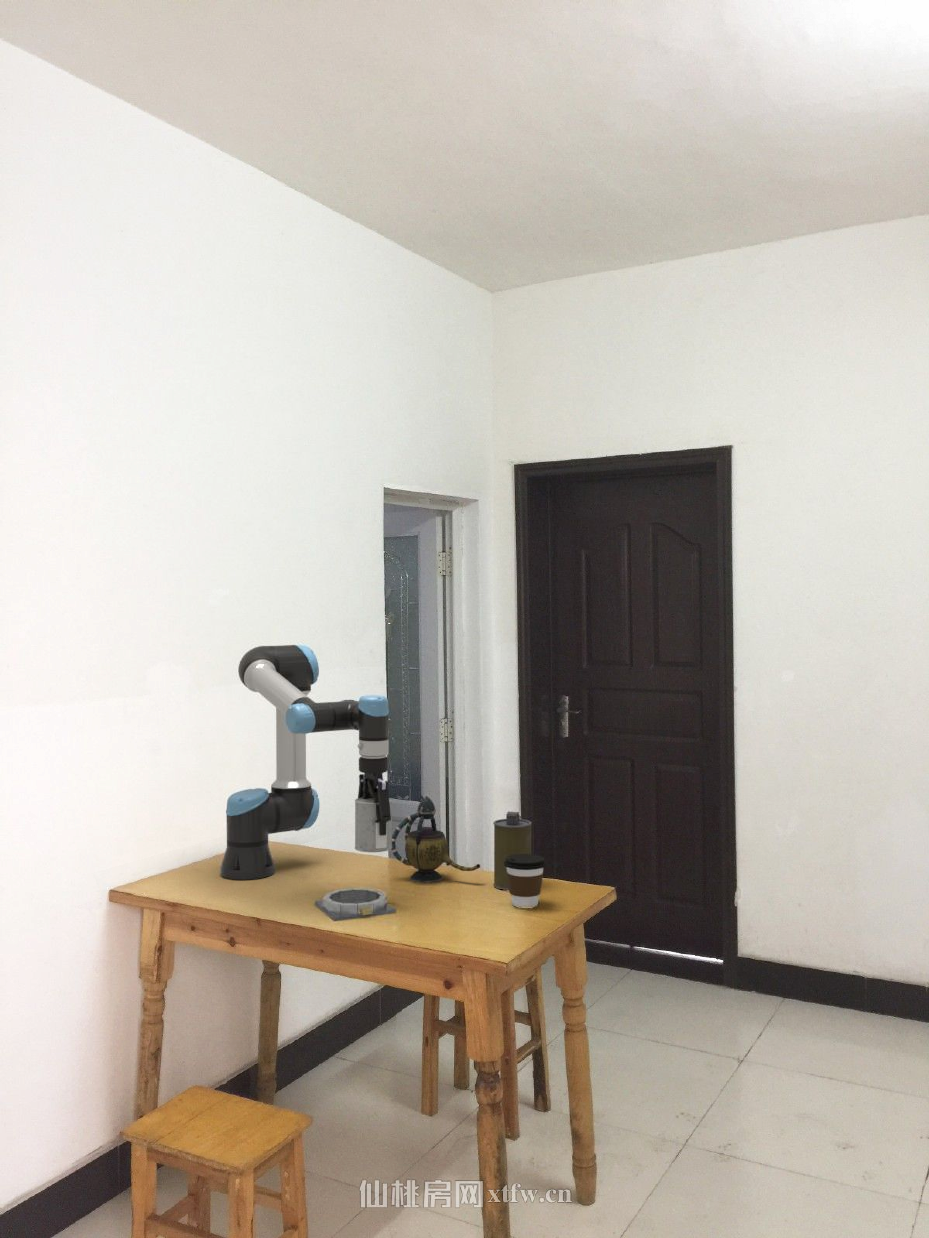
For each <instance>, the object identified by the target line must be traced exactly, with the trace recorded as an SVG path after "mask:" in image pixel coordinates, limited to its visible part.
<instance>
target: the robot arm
mask: <svg viewBox="0 0 929 1238" xmlns="http://www.w3.org/2000/svg"><path fill="white" fill-rule="evenodd" d="M317 658H318V657H317V656H316V654H315V653H314V651H313V650H312V648H310V647H309V646H307V645H300V644H298V645H297V644H288V645H287V644H285V645H260V646H257V647H254V648H250V649H249V650H248V651H247V652H246V653H244V654H243V656H242V657H241V659H240V661H239V664H238V677H239V679H240V682H241V683H242V685H244V687H246V688H247V689H248V690H249V691H251V692H254V693H259V694H260V695H261V696H262V697H263V698H265V700H267V701H268V702H269V703H270V704H271V705H273V706H274V707H275V721H276V722H275V726H276V727H275V728H276V729H275V733H276V735H275V736H276V737H275V738H276V740H275V741H276V742H275V743H276V745H275V748H276V750H275V752H276V755H275V757H276V758H275V761H276V763H275V764H276V766H275V767H276V768H275V771H276V772H275V773H276V774H275V775H276V776H275V777H276V779H275V780H274V782H272V783H271V786H270V789H271V790H270V792H269V790H268V789H266V788H260V787H259V788H258V787H257V788H248V789H243V790H240V791H236V792H235V793H231V795H229V797H228V798H227V802H226V810H225V814H226V849H225V851H224V855H223V858H222V861H221V864H220V876H221V877H222V878H225V879H228V880H242V881H243V880H244V881H245V880H257V879H262V878H268V877H271V876H273V875H274V874H275V870H276V869H275V868H276V867H275V861H274V859H273V855H272V852H271V850H270V846H269V835H271V834H277V833H287V832H292V831H293V832H299V831H301V830H305V829H309V828H312V826H313V825H314V823H316V821H317V820H318V816H319V813H320V798H319V794H318V793H317V790H315V789H314V788H312V783H311V781H310V780H308V779H307V734H312V733H313V734H314V733H324V732H334V731H335V732H338V731H349V730H350V731H353V730H354V731H358V744H357V748H358V755H359V756H360V757H359V758H358V771H359V772H360V774H359V775H358V779H359V780H358V791H357V792H358V794H357V799H358V798H363V799H369V798H373V800H374V803H376V816H377V820H376V821H375V823H376V848H377V849H378V848H386V847H387V822H388V821H390V820H391V814H390V803H389V798H390V796H389V793H390V792H389V783H390V782H389V781H388V780H384V778H383V777H384V776H383V774H384V773H387V772H388V771H389V757H388V755H389V752H390V751H389V746H390V744H389V722H390V721H389V717H390V715H389V713H390V710H389V700H388V698H387V696H385V695H375V694H371V695H367V694H366V695H362V696H360V697H359V700H355V699H342V700H339V701H325V702H315V701H314V699H313V700H312V699H311V698H310V697H309V696H308V695H309V694H310V693H311V692H312V685H314V684H316V682H317V681H318V678H319V674H320V668H319V662H318V659H317ZM377 803H379V804H377Z"/></svg>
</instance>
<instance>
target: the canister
mask: <svg viewBox="0 0 929 1238" xmlns="http://www.w3.org/2000/svg"><path fill="white" fill-rule="evenodd" d="M505 816H506V818H502V819H497V820H494V821H493V825H494V827H493V828H494V829H493V830H494V833H493V837H494V839H493V840H494V841H493V845H494V846H493V847H494V848H493V849H494V851H493V855H494V856H493V862H494V863H493V866H494V867H493V869H494V871H493V877H494V878H493V887H494V888H495V887H496V888H495V889H497V888H498V889H497V890H500V889H503V890H502V891H506V890H509V885H508V879H507V868H506V866H504V861H505V859H506V857H508V856H510V855H515V854H532V825H533V824H532V821H530V820H528V819H523V818H522V817H521V815H520V811H507V813H506V815H505Z"/></svg>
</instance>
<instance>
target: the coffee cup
mask: <svg viewBox="0 0 929 1238" xmlns="http://www.w3.org/2000/svg"><path fill="white" fill-rule="evenodd" d="M504 866H506V868H507V879H508V885H509V891H508V892H509V894H510V899H511V904H512V906H513V905H514V906H516V907H535V906H536V907H537V906H538V904H539V901H540V900H539V899H540V895H541V892H542V891H541V889H542V884H543V877H544V868H546V867H547V861H545V857H543V856H542V855H539V854H532V853H531V854H515V855H510V856H508V857H506V859H505V861H504ZM514 906H513V907H514ZM516 907H515V908H516ZM536 907H535V908H536Z"/></svg>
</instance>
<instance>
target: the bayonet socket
mask: <svg viewBox="0 0 929 1238" xmlns="http://www.w3.org/2000/svg"><path fill="white" fill-rule="evenodd" d="M387 898H388V897H387V894H386V893H385V892H383V891H382V890H379V889H373V888H366V887H365V888H362V887H361V888H360V887H357V888H356V887H352V888H343V889H336V890H334V891H330V892H326V893H325V894H324V896H323V897H322V899H321V900H320V899H319V900H314V905H315V906H316V907H317V908H319V909H320V910H321V911H322V912H323V913H325V914H326V915H327V916H328V917H329V918H330V919H332V920H333V921H334V922H336V921H344V920H351V919H353V920H354V919H358V918H359V919H360V918H367V917H375V916H380V915H389V914H396V913H397V909H396V908H395V907H394V906H392V905H390V904H389V903H388V902H387Z"/></svg>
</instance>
